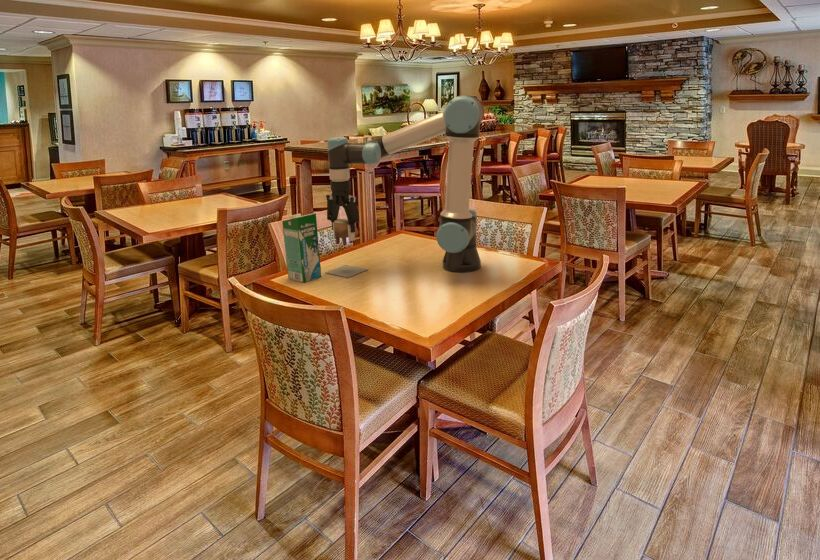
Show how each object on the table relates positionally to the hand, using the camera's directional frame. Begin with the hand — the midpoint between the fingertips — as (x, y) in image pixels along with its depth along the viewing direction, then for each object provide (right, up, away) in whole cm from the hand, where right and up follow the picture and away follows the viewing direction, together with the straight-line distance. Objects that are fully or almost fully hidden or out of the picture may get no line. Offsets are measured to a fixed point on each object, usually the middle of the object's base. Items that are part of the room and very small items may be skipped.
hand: (344, 239), depth 218 cm
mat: (+1, -12, +4) cm, 13 cm away
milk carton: (-15, -15, -1) cm, 21 cm away
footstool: (0, -1, +1) cm, 2 cm away
